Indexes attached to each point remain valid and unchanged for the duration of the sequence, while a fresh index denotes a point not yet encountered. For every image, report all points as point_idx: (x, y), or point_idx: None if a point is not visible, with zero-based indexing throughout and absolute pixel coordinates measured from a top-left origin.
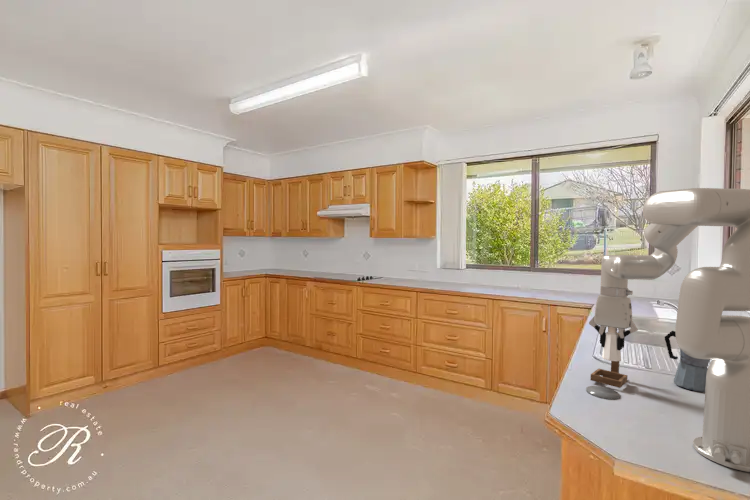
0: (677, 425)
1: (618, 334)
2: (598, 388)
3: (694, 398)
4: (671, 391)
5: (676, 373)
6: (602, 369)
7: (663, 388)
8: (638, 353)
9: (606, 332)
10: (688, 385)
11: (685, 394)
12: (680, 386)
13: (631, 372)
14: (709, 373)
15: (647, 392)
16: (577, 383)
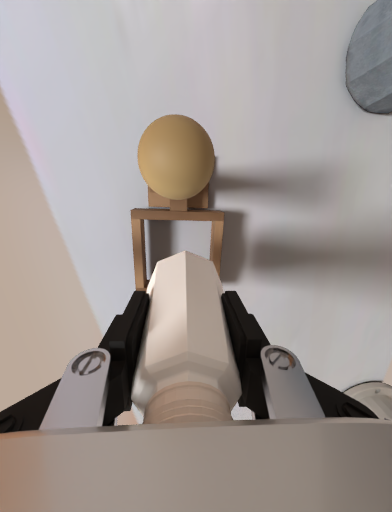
0: (314, 368)
1: (240, 395)
2: None
3: (371, 186)
4: (324, 171)
5: (385, 36)
6: (144, 212)
7: (307, 159)
8: None
9: (134, 401)
10: (386, 105)
11: (356, 168)
12: (357, 102)
13: (208, 30)
14: None
15: (269, 236)
16: (119, 308)
